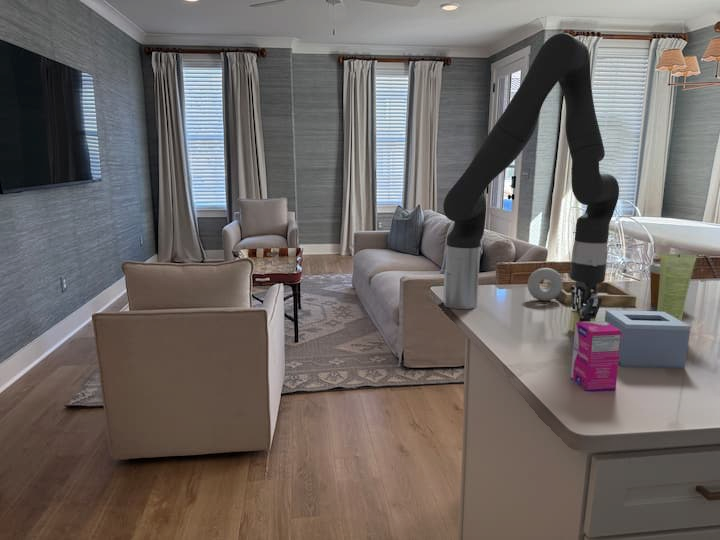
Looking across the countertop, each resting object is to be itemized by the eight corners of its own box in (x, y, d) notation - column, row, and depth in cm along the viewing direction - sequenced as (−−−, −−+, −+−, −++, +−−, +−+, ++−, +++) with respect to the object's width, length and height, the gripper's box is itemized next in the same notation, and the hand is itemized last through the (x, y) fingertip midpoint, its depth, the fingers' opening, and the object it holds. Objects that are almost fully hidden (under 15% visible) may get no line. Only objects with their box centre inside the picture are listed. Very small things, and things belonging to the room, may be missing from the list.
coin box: (621, 367, 101) (626, 324, 99) (601, 350, 111) (605, 310, 109) (684, 370, 101) (690, 326, 99) (658, 351, 110) (663, 311, 109)
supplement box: (568, 379, 96) (574, 320, 93) (599, 378, 96) (605, 320, 94) (584, 393, 90) (591, 330, 88) (616, 392, 90) (624, 330, 88)
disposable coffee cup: (646, 308, 144) (652, 266, 141) (642, 300, 152) (647, 261, 150) (685, 312, 140) (692, 269, 138) (679, 304, 149) (685, 263, 146)
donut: (559, 300, 152) (562, 267, 150) (562, 303, 149) (566, 269, 147) (525, 298, 153) (527, 266, 151) (527, 301, 150) (530, 268, 148)
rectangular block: (572, 333, 122) (574, 313, 121) (569, 330, 124) (570, 310, 123) (594, 334, 121) (596, 313, 120) (590, 330, 124) (592, 310, 123)
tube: (664, 330, 125) (675, 251, 121) (685, 336, 121) (697, 254, 117) (649, 333, 123) (660, 252, 119) (670, 339, 118) (681, 256, 114)
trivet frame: (565, 304, 147) (566, 294, 146) (546, 289, 165) (547, 280, 164) (635, 306, 146) (636, 296, 145) (608, 291, 164) (609, 281, 163)
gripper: (562, 255, 126) (556, 322, 130) (583, 266, 113) (575, 340, 116) (593, 255, 126) (586, 323, 129) (618, 266, 112) (609, 341, 116)
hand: (581, 331), depth 123 cm, fingers closed on rectangular block, 2 cm apart
